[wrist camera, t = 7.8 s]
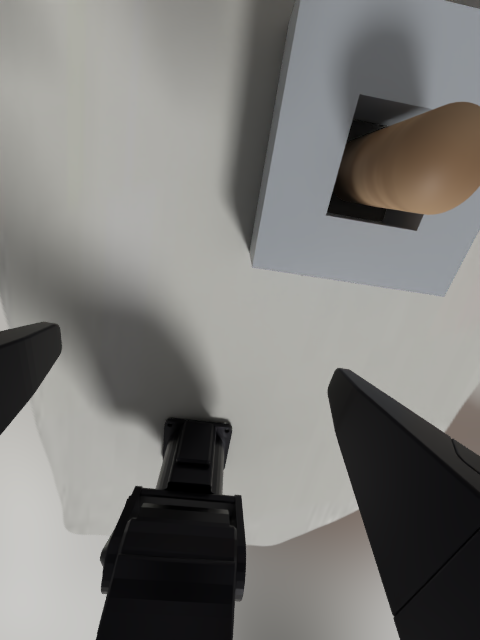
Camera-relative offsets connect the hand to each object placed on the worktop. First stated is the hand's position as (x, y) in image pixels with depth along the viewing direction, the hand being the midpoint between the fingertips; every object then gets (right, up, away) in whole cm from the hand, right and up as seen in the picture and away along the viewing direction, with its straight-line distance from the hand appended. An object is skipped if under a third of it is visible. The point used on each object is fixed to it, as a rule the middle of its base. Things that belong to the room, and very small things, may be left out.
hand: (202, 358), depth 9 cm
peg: (+9, +11, +8) cm, 16 cm away
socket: (+9, +11, +8) cm, 16 cm away
